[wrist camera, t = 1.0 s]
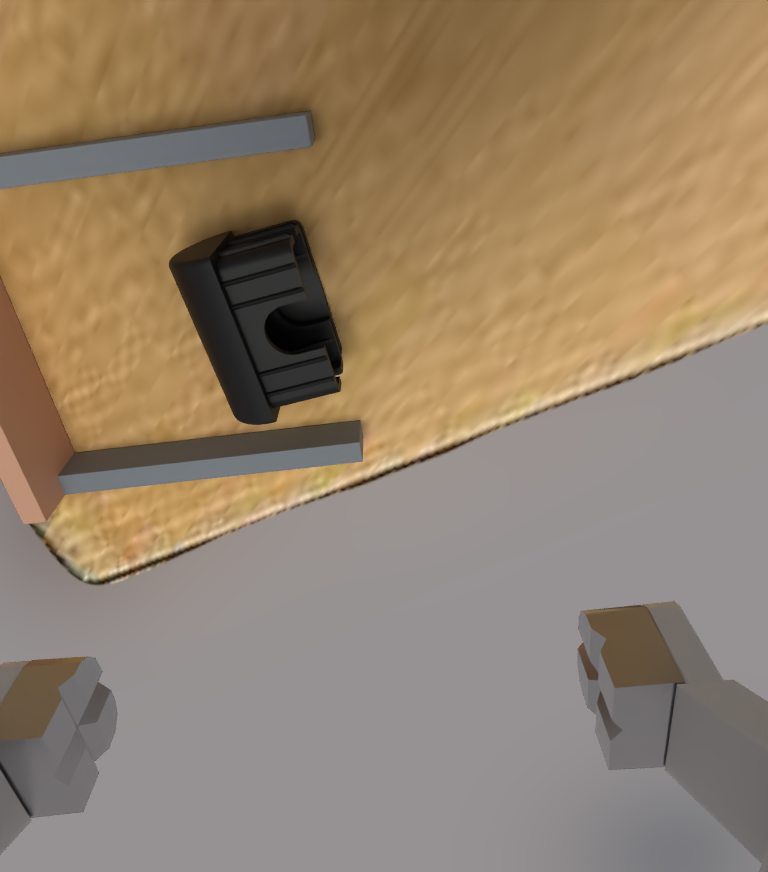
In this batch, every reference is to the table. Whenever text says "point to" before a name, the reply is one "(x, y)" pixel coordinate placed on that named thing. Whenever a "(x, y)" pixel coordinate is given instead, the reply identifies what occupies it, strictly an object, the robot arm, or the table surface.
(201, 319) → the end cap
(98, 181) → the table surface
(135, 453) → the u-shaped frame
